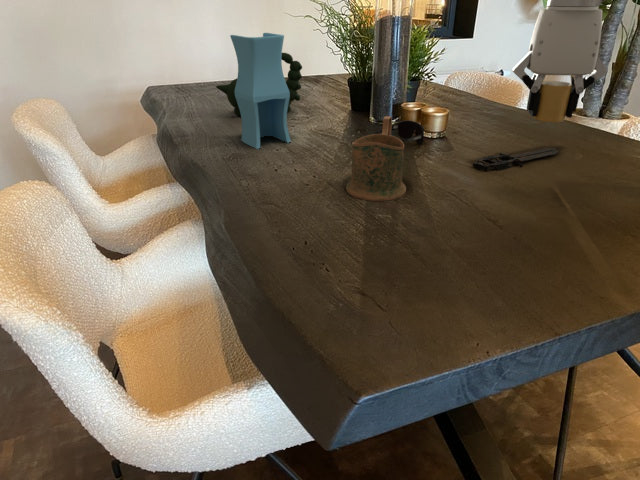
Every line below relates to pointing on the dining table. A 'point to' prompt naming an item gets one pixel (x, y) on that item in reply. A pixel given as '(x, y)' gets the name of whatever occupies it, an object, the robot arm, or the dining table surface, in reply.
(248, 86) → the teal arched pillar
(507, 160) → the knife
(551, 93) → the candle holder
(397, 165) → the bronze bell
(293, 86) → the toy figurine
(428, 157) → the dining table surface
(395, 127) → the sunglasses
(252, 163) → the dining table surface
